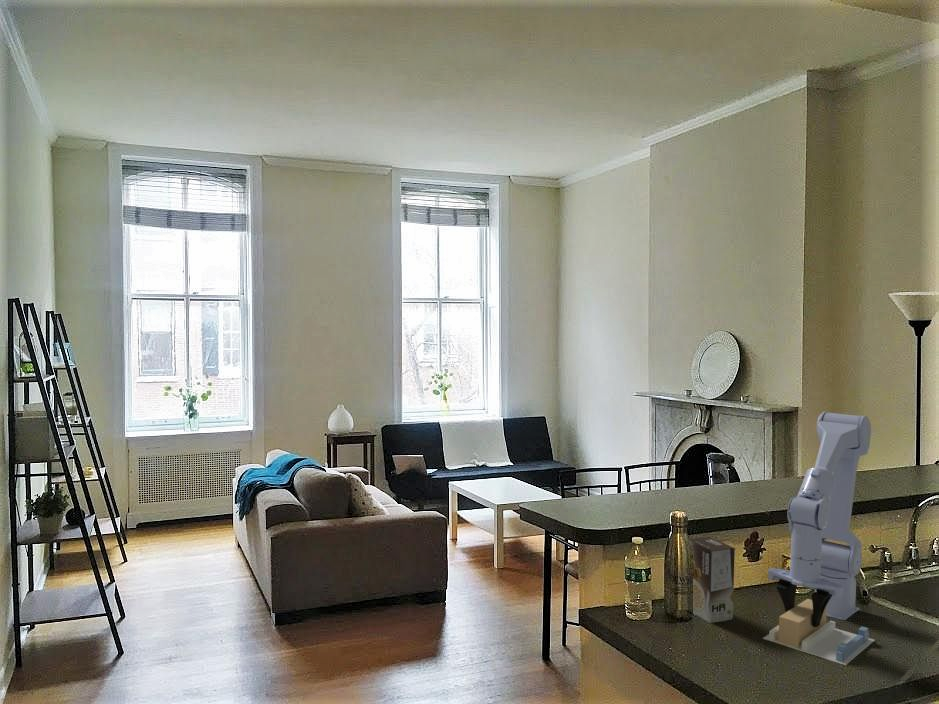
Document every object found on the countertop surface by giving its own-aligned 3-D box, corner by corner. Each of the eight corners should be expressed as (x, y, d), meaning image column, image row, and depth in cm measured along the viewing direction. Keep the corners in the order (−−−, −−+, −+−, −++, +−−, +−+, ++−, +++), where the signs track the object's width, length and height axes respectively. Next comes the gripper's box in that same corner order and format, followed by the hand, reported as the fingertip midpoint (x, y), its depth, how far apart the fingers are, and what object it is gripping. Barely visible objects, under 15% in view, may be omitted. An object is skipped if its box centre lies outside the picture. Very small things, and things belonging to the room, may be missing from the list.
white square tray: (795, 619, 168) (796, 604, 168) (874, 642, 157) (875, 627, 157) (762, 641, 157) (763, 625, 157) (845, 668, 146) (846, 651, 146)
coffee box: (734, 621, 167) (737, 548, 166) (709, 625, 164) (712, 551, 164) (707, 606, 175) (709, 535, 174) (683, 609, 173) (685, 538, 172)
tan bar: (806, 621, 166) (807, 598, 165) (825, 627, 163) (826, 604, 163) (778, 641, 156) (779, 616, 156) (798, 647, 153) (799, 622, 153)
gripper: (762, 552, 161) (759, 616, 162) (835, 569, 150) (832, 638, 151) (777, 545, 166) (774, 607, 167) (848, 561, 155) (845, 628, 156)
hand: (803, 621), depth 159 cm, fingers open, 5 cm apart
